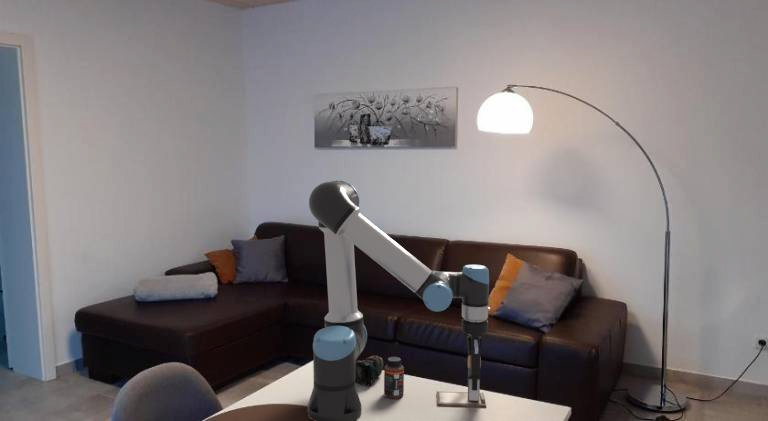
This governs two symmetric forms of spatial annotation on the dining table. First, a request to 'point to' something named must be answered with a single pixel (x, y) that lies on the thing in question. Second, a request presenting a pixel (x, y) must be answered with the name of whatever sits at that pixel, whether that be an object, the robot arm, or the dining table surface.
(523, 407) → the dining table surface
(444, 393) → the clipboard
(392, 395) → the supplement bottle
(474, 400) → the marker
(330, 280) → the robot arm
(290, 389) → the dining table surface
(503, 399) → the dining table surface
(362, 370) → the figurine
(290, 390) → the dining table surface
